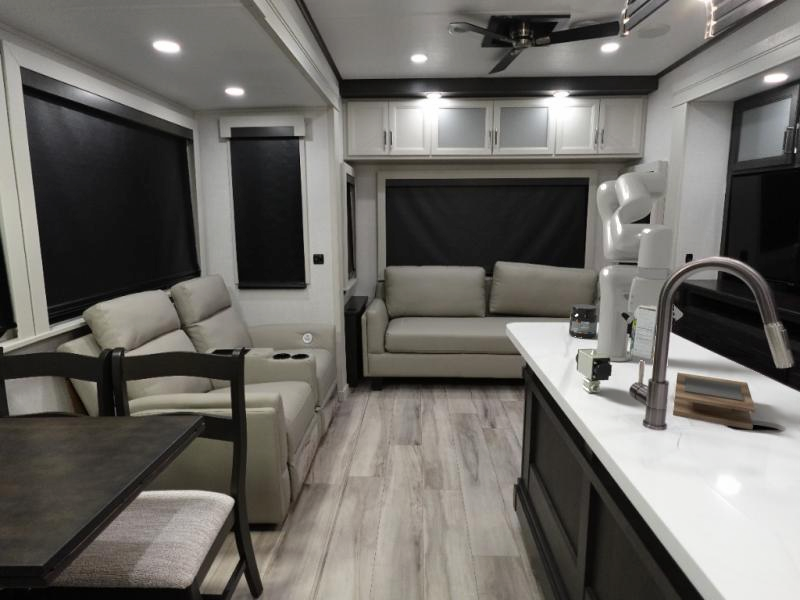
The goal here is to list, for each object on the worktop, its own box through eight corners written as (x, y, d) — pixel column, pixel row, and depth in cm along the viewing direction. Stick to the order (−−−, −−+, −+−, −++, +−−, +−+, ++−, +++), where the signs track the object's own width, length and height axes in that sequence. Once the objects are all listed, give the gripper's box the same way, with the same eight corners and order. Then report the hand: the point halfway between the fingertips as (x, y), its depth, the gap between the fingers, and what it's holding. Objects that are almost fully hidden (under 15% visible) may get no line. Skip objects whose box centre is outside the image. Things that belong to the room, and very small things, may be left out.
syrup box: (636, 350, 136) (641, 300, 133) (659, 354, 132) (665, 303, 129) (628, 354, 132) (633, 303, 129) (651, 359, 128) (657, 306, 125)
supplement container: (582, 331, 201) (584, 303, 198) (602, 337, 191) (604, 307, 189) (562, 334, 196) (564, 305, 194) (582, 340, 187) (584, 310, 185)
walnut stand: (675, 389, 136) (677, 371, 135) (744, 400, 128) (747, 381, 127) (672, 414, 119) (675, 394, 118) (752, 429, 111) (755, 407, 110)
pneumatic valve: (593, 399, 129) (596, 356, 127) (573, 383, 141) (575, 344, 138) (613, 398, 130) (616, 355, 128) (591, 383, 141) (594, 343, 139)
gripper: (690, 274, 126) (682, 339, 130) (618, 269, 135) (613, 331, 139) (690, 278, 120) (682, 347, 124) (615, 273, 129) (609, 337, 133)
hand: (645, 338), depth 131 cm, fingers closed on syrup box, 6 cm apart
